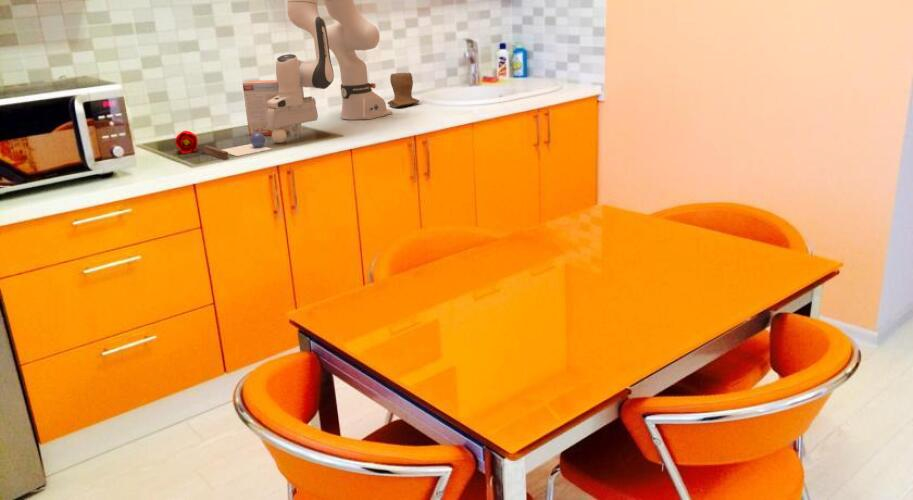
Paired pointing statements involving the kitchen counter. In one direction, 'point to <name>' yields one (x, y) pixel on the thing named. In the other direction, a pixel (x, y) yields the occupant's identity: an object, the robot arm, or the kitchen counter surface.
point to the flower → (186, 141)
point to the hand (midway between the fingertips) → (294, 135)
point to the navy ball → (257, 140)
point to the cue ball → (279, 135)
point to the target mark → (245, 150)
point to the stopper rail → (216, 152)
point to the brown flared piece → (402, 90)
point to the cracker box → (259, 105)
